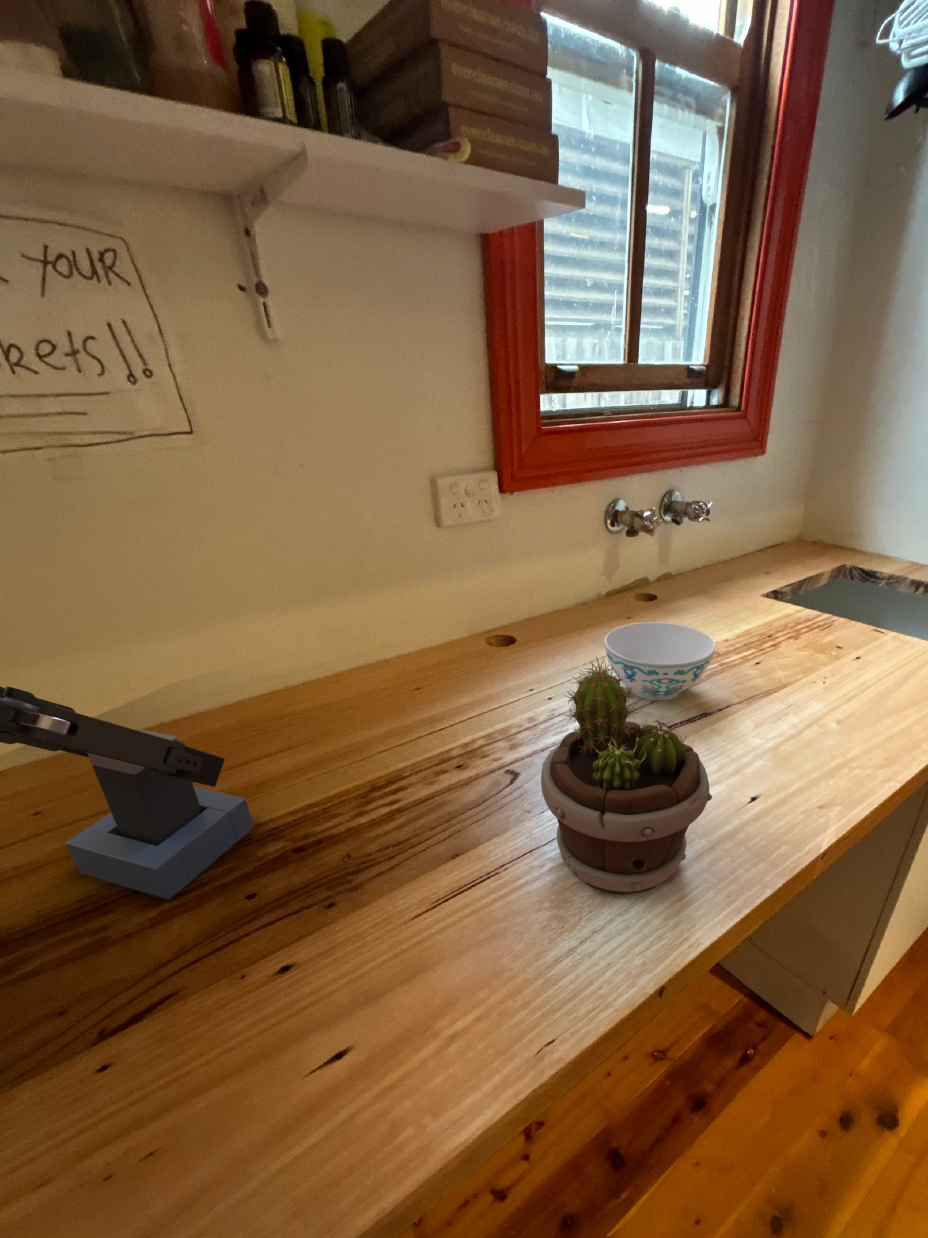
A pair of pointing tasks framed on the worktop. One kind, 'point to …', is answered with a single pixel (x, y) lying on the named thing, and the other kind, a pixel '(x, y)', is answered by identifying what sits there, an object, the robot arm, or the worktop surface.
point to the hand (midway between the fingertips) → (165, 760)
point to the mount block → (163, 847)
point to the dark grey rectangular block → (145, 798)
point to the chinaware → (658, 657)
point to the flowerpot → (621, 791)
